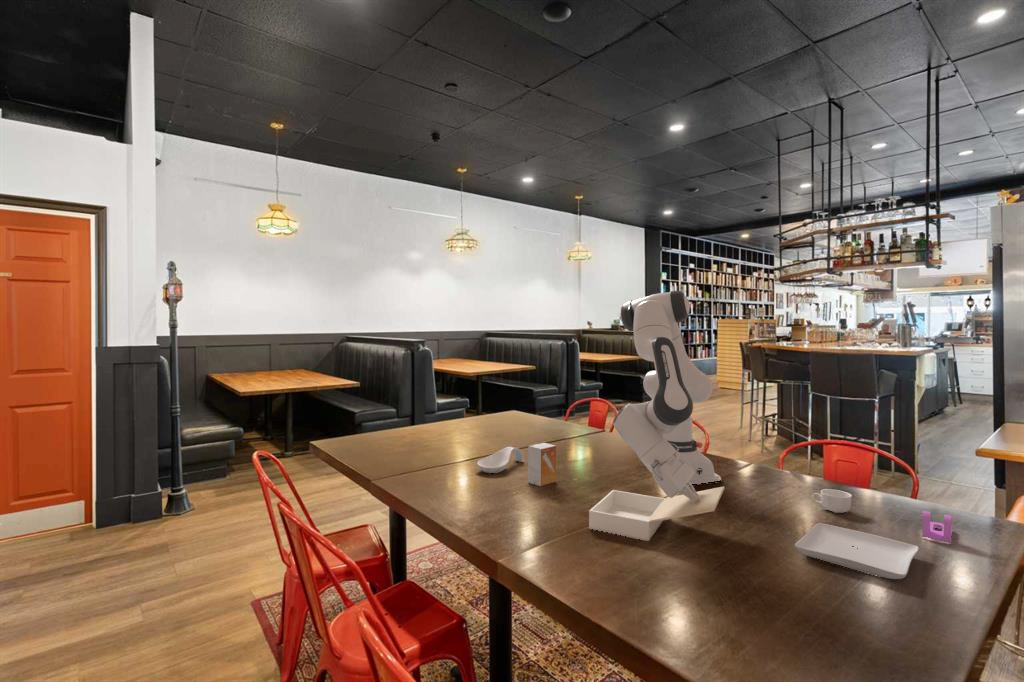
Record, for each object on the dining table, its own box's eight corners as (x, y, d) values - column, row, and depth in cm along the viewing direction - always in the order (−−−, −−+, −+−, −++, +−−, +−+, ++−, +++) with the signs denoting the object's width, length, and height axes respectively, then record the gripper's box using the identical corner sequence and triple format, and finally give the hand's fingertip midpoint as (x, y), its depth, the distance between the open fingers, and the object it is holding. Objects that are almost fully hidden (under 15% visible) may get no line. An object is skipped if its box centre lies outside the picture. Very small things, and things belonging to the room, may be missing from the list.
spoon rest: (495, 478, 181) (495, 458, 181) (470, 473, 188) (470, 454, 188) (531, 464, 201) (531, 446, 201) (507, 459, 208) (507, 442, 207)
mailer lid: (713, 509, 119) (714, 511, 119) (724, 486, 136) (724, 488, 136) (649, 520, 127) (650, 522, 127) (667, 497, 144) (668, 499, 144)
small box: (540, 487, 171) (540, 449, 170) (527, 482, 175) (527, 445, 175) (556, 482, 176) (556, 445, 176) (543, 478, 181) (543, 442, 181)
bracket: (950, 546, 125) (951, 518, 125) (921, 539, 129) (922, 512, 128) (952, 530, 134) (952, 504, 134) (925, 525, 138) (925, 500, 138)
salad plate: (817, 533, 133) (817, 520, 133) (919, 558, 118) (920, 544, 118) (792, 558, 118) (792, 544, 118) (906, 592, 103) (906, 575, 103)
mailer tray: (589, 528, 135) (589, 510, 135) (612, 506, 152) (613, 489, 152) (648, 541, 127) (648, 521, 127) (666, 515, 144) (666, 498, 144)
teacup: (851, 509, 149) (851, 492, 149) (851, 518, 143) (852, 499, 143) (812, 503, 155) (812, 486, 155) (811, 511, 148) (811, 493, 148)
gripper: (658, 458, 125) (698, 504, 120) (676, 443, 142) (712, 483, 138) (640, 473, 127) (679, 519, 122) (660, 456, 145) (695, 496, 140)
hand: (696, 500), depth 130 cm, fingers closed
